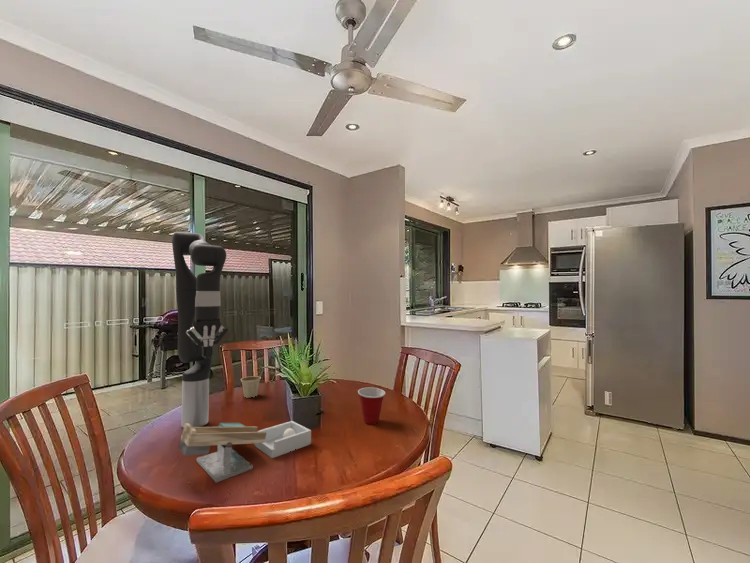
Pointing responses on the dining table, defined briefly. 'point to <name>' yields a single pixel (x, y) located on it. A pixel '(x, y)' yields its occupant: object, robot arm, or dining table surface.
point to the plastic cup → (371, 403)
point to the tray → (284, 439)
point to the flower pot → (250, 386)
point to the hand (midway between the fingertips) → (206, 357)
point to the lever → (217, 437)
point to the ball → (288, 432)
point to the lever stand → (223, 463)
